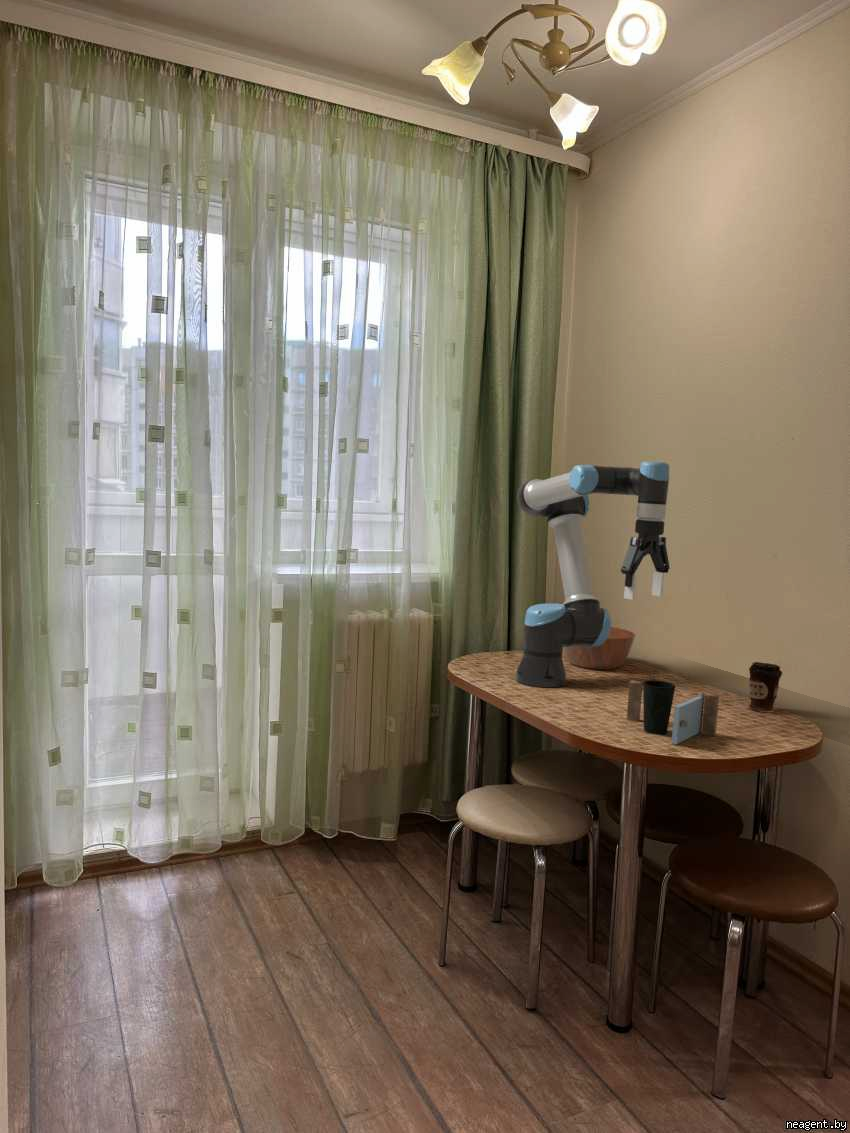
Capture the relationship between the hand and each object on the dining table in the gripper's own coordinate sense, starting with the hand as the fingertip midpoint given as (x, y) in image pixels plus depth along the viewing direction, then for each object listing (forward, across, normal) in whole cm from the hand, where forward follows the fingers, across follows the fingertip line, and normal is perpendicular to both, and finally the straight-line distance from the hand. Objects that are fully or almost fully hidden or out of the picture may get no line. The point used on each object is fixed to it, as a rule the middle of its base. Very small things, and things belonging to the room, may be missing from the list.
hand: (643, 597), depth 234 cm
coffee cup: (+30, -28, +23) cm, 47 cm away
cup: (+30, +17, +18) cm, 39 cm away
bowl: (+32, -34, -38) cm, 60 cm away
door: (+30, +15, +26) cm, 42 cm away
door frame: (+30, +10, +18) cm, 36 cm away
